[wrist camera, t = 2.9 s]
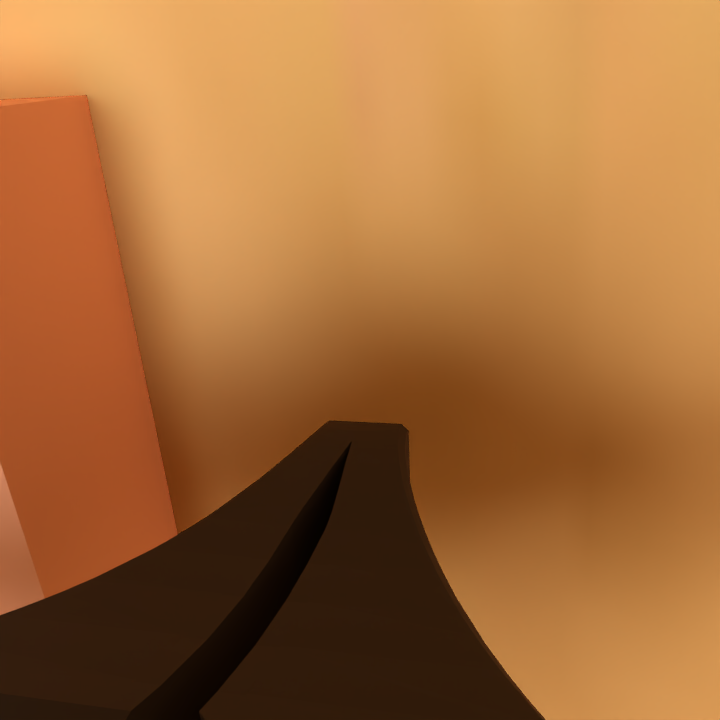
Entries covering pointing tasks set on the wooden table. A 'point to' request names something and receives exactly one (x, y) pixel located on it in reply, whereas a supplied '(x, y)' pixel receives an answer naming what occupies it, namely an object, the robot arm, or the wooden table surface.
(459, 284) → the wooden table surface
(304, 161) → the wooden table surface
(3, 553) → the t block
